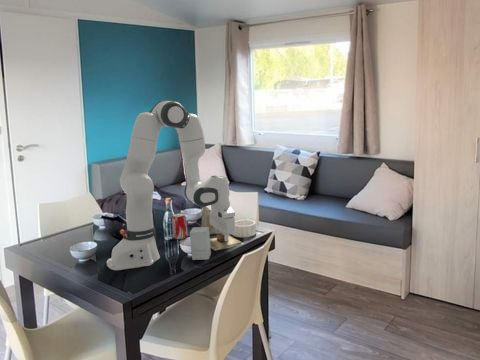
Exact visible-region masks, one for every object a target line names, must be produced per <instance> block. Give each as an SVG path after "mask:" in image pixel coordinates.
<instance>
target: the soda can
mask: <svg viewBox="0 0 480 360" xmlns="http://www.w3.org/2000/svg"><path fill="white" fill-rule="evenodd" d="M187 223H188V221H187V217H186V214H185V213H183V212H180V213H174V214H173V215H172V218H171V225H172V227H171V228H172V235H173V236H172V237H173V239H175V240H185V239H186V238H187V237H188V224H187ZM184 238H185V239H184Z"/></svg>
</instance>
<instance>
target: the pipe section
mask: <svg viewBox="0 0 480 360" xmlns="http://www.w3.org/2000/svg"><path fill="white" fill-rule="evenodd" d="M256 225H257V223H256V221H255V220H252V219H239V220H235V232H234V234H231V235H232V237H234V238H235V237H236V238H250V237H253V236H255V235H256V234H257V227H256Z"/></svg>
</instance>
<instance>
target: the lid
mask: <svg viewBox="0 0 480 360" xmlns="http://www.w3.org/2000/svg"><path fill="white" fill-rule="evenodd" d="M224 235H225V234H224V232H221V233H218V234H216V237H214V238H210V246H212V247H213V248H215V249H220V248H224V249H226V248H225V247H229V246H234V245H238V244H242V243H243V242H242V241H240V240H239V239H238V238H235V237H234V236H233V235H232V236H231V234H229V237H228V241H224V238H223V237H224ZM238 246H239V245H238ZM234 247H235V246H234ZM229 248H230V247H229ZM220 250H221V249H220Z"/></svg>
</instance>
